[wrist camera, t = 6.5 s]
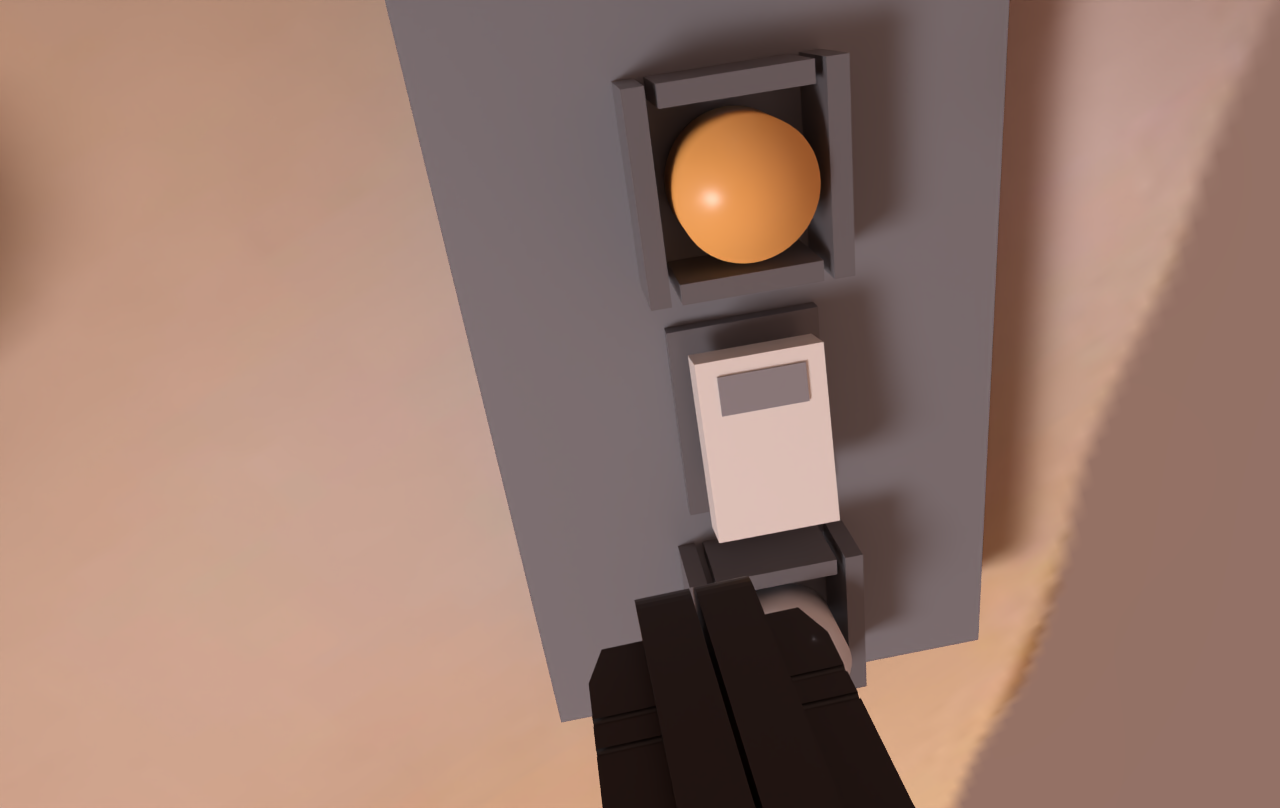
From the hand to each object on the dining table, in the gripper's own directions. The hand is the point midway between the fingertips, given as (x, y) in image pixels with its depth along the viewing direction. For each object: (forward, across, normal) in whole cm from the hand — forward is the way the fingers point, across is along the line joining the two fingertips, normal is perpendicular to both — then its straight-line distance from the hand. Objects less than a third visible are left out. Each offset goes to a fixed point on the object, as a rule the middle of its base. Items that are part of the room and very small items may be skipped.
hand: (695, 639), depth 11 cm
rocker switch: (+11, -3, +3) cm, 12 cm away
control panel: (+15, -4, 0) cm, 15 cm away
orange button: (+12, -4, -3) cm, 12 cm away
